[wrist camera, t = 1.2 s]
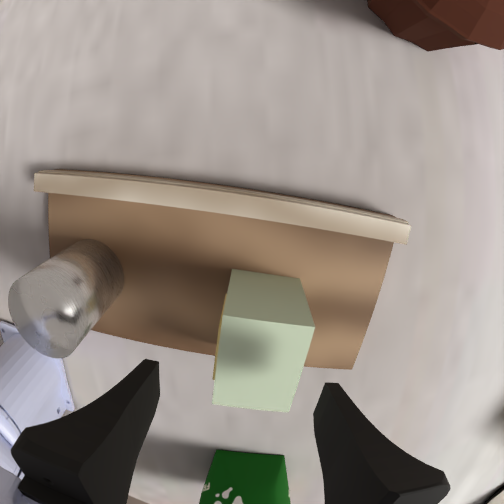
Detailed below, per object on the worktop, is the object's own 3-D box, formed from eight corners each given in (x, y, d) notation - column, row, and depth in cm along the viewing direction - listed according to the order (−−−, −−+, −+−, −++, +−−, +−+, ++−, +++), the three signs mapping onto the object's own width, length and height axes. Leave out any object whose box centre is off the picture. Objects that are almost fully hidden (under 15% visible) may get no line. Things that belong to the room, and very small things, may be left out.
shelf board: (348, 360, 24) (357, 384, 21) (63, 313, 23) (46, 331, 20) (392, 213, 20) (411, 224, 17) (58, 167, 19) (34, 171, 16)
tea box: (300, 278, 20) (315, 327, 15) (282, 353, 22) (288, 412, 16) (229, 268, 20) (219, 314, 14) (219, 345, 22) (209, 403, 16)
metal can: (124, 310, 21) (82, 368, 15) (68, 297, 21) (17, 345, 15) (124, 244, 20) (71, 287, 13) (64, 234, 20) (2, 269, 13)
